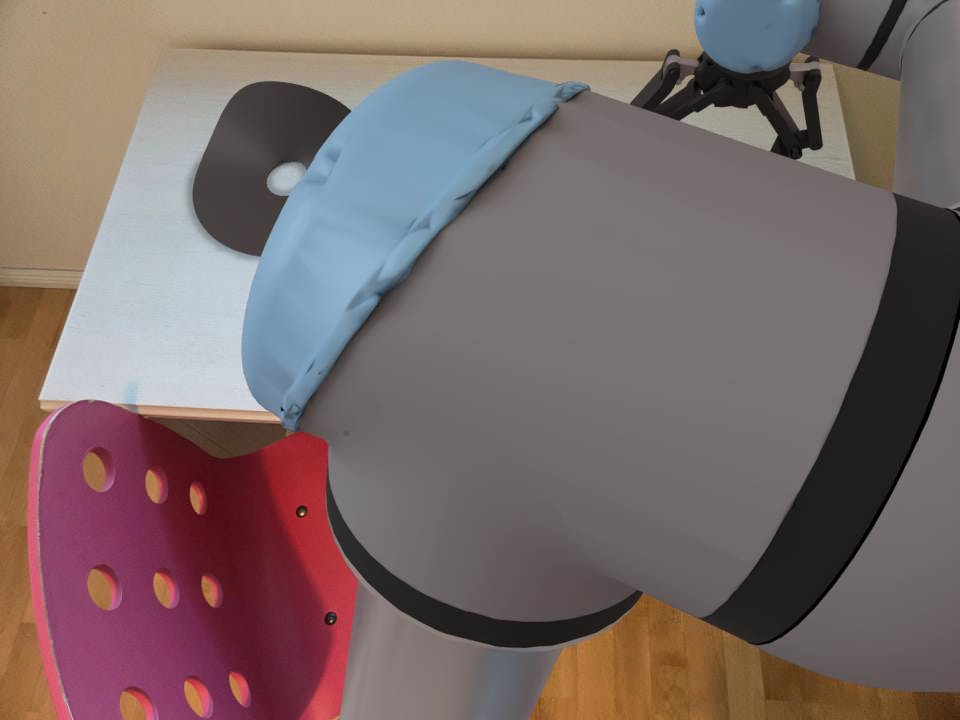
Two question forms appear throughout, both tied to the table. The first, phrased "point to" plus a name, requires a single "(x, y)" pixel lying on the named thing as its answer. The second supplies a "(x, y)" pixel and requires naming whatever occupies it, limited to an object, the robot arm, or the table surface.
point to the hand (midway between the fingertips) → (698, 184)
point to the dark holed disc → (258, 158)
